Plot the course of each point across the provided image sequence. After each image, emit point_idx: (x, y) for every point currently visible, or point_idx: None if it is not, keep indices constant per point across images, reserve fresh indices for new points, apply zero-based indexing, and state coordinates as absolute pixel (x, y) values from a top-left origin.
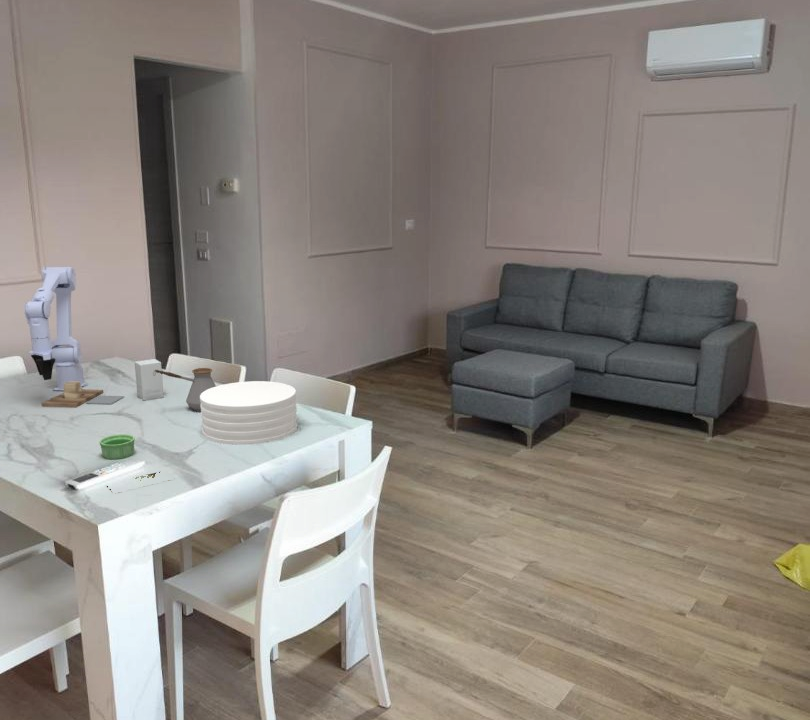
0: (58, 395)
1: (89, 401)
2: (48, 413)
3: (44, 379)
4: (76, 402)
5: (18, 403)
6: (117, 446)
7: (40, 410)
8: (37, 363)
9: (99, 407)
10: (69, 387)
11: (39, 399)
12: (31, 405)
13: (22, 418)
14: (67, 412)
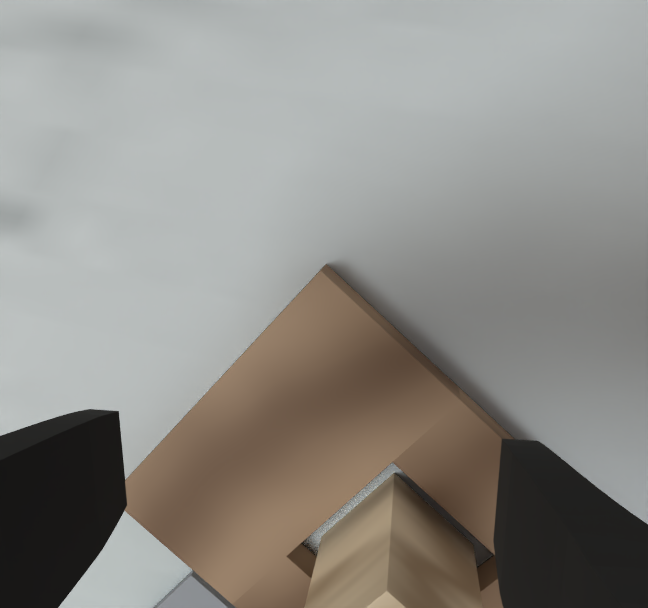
0: None
1: (211, 605)
2: (61, 261)
3: (78, 414)
4: (156, 517)
5: (630, 75)
6: None
7: (197, 223)
8: (588, 603)
9: None
10: (337, 605)
11: (640, 301)
12: (440, 184)
13: (9, 30)
14: (18, 391)
